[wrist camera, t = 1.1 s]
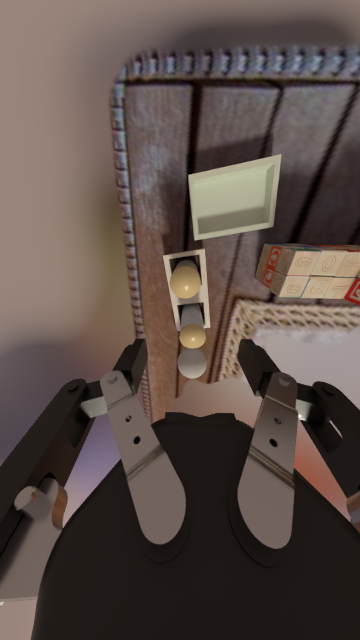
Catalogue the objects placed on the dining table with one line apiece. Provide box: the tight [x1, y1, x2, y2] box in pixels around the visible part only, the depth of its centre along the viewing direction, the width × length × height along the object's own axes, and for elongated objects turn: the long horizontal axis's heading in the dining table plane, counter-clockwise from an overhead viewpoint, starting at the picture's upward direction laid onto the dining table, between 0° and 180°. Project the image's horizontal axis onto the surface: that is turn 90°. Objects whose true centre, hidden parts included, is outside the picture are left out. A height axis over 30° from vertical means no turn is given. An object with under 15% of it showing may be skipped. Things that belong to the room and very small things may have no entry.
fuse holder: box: [163, 249, 210, 331], centre depth 29 cm, size 7×15×3 cm, turn 9°
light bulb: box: [178, 347, 207, 378], centre depth 32 cm, size 6×6×10 cm
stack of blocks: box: [255, 243, 360, 306], centre depth 22 cm, size 21×6×12 cm, turn 89°
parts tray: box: [188, 154, 281, 241], centre depth 23 cm, size 12×8×3 cm, turn 99°
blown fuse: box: [170, 259, 201, 298], centre depth 24 cm, size 4×4×11 cm
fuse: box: [180, 303, 206, 349], centre depth 28 cm, size 4×4×11 cm
